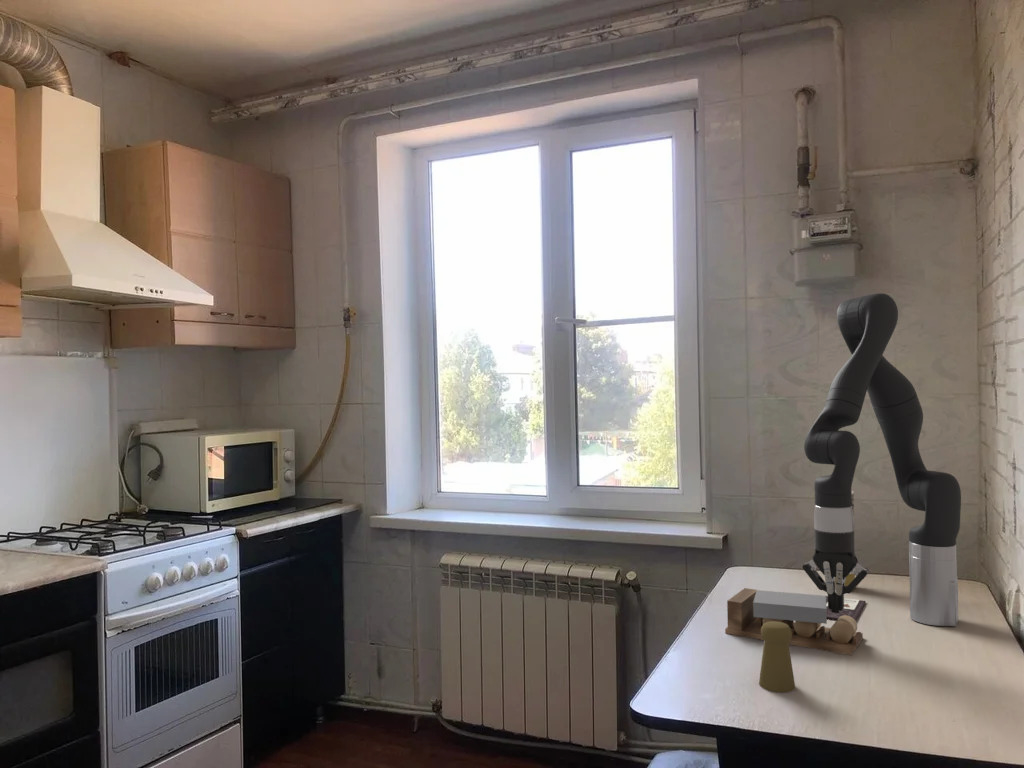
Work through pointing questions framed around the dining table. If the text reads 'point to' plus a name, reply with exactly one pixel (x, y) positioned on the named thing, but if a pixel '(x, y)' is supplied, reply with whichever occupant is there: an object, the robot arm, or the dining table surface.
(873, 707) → the dining table surface
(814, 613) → the slab
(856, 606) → the chocolate bar
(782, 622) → the roller
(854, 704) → the dining table surface
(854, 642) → the roller bed
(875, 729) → the dining table surface
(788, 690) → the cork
